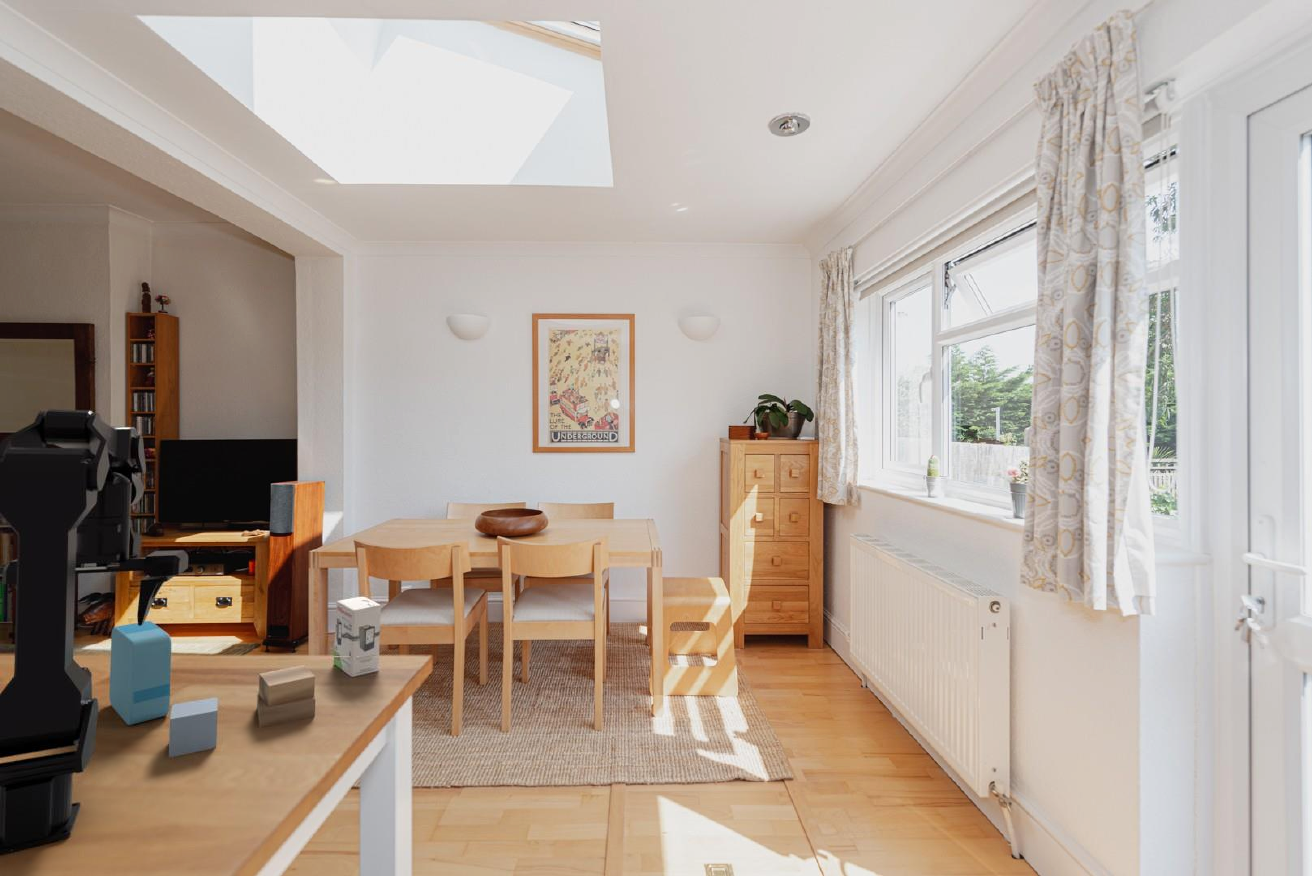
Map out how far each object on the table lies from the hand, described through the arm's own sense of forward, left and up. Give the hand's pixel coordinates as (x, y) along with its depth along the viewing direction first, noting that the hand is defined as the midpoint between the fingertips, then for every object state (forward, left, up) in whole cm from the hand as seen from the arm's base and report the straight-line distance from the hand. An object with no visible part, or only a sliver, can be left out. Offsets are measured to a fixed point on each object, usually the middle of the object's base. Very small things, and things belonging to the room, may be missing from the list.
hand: (99, 628), depth 88 cm
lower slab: (-7, -22, -14) cm, 27 cm away
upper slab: (-7, -22, -11) cm, 26 cm away
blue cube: (-12, -11, -14) cm, 22 cm away
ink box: (+7, -34, -14) cm, 38 cm away
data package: (+4, -4, -14) cm, 15 cm away
